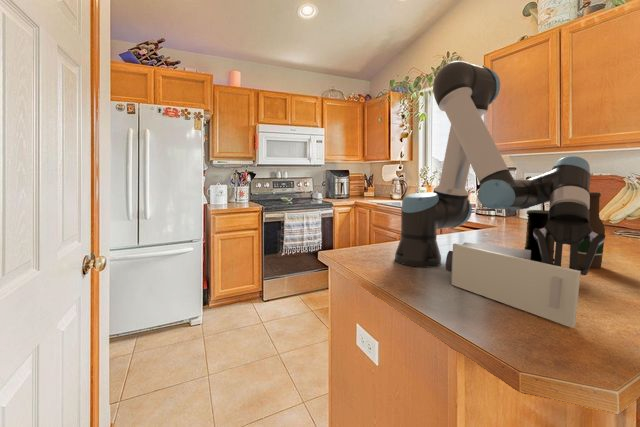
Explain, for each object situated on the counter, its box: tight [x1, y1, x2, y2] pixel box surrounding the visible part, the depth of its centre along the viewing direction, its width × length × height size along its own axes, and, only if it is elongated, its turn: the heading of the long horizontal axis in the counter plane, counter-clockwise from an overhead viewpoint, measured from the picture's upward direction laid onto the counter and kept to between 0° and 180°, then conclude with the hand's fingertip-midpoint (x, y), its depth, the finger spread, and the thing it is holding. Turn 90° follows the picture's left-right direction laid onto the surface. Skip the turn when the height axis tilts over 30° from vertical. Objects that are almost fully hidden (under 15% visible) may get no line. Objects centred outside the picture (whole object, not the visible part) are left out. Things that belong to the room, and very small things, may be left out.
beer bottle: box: [577, 191, 606, 270], centre depth 100 cm, size 8×8×24 cm
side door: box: [450, 243, 581, 329], centre depth 71 cm, size 28×2×11 cm, turn 29°
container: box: [523, 209, 556, 263], centre depth 101 cm, size 9×9×18 cm
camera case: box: [445, 242, 531, 273], centre depth 83 cm, size 19×10×10 cm, turn 52°
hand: (563, 300), depth 63 cm, fingers closed
